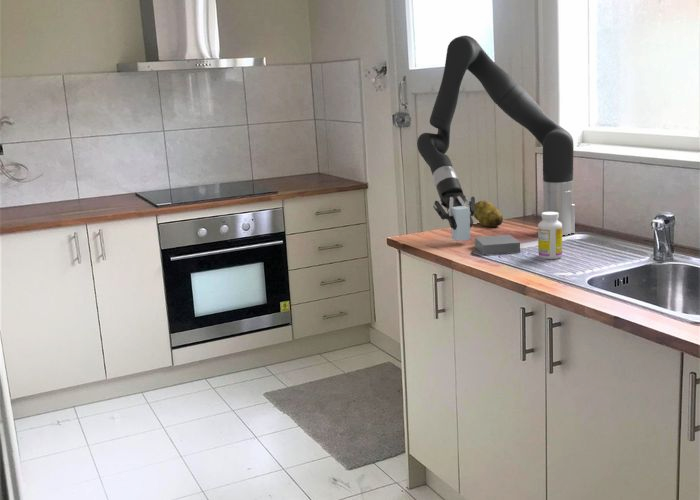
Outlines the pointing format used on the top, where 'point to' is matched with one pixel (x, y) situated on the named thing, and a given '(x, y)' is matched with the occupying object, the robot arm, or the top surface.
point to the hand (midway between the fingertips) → (463, 227)
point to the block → (461, 223)
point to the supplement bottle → (550, 236)
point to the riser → (497, 244)
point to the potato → (487, 214)
